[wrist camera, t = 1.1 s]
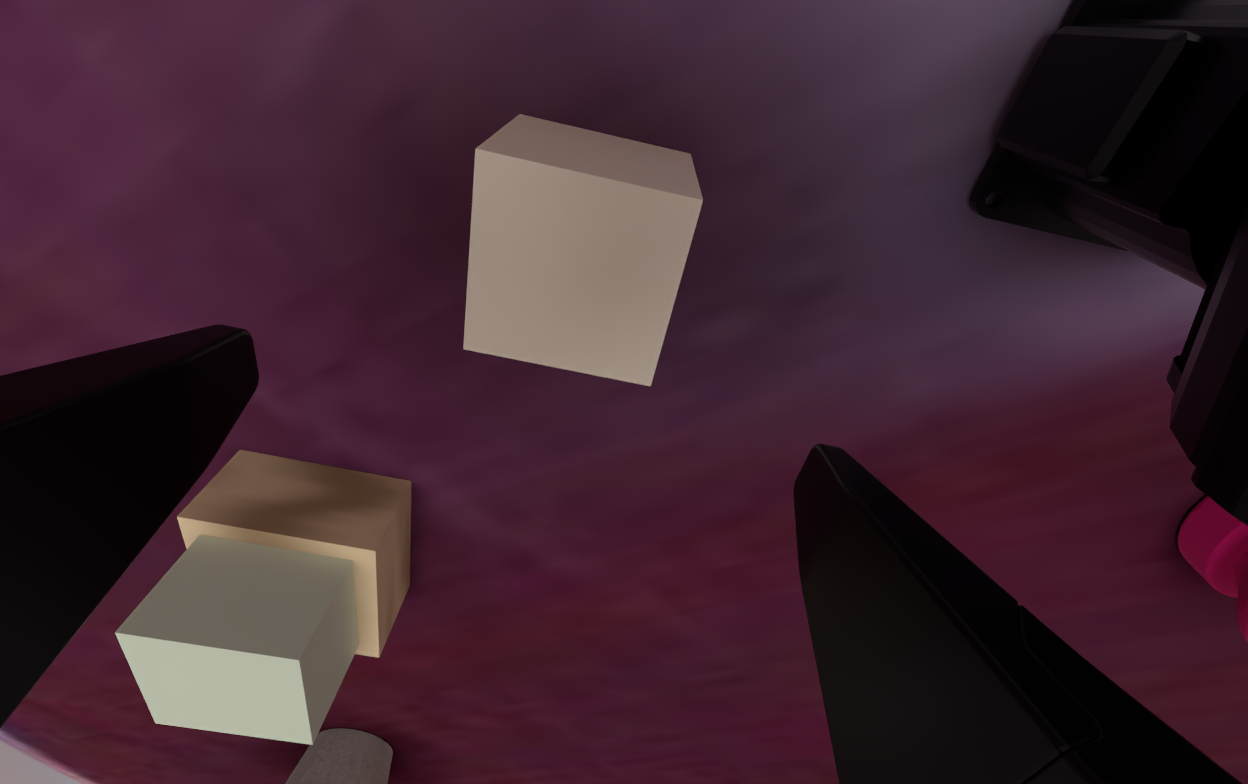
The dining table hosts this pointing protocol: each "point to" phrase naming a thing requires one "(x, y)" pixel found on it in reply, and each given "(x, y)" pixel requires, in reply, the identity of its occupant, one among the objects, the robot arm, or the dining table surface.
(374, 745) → the house plant
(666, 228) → the cube
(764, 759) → the dining table surface
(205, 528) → the base block
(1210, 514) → the pepper mill
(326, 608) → the top block
